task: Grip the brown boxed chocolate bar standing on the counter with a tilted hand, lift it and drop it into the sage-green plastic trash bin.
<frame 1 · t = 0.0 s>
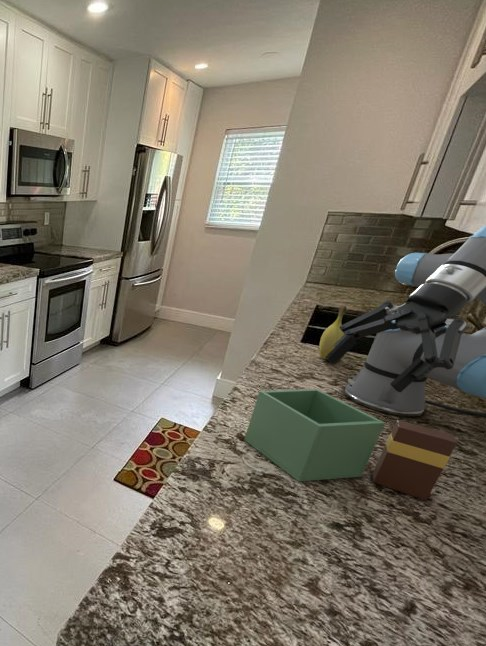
hand: (359, 373, 85), 15 cm above the countertop, tool tilted 35°, fingers open, 13 cm apart
banana: (328, 360, 136), on the countertop
trash bin: (298, 457, 83), on the countertop
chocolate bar: (398, 486, 75), on the countertop
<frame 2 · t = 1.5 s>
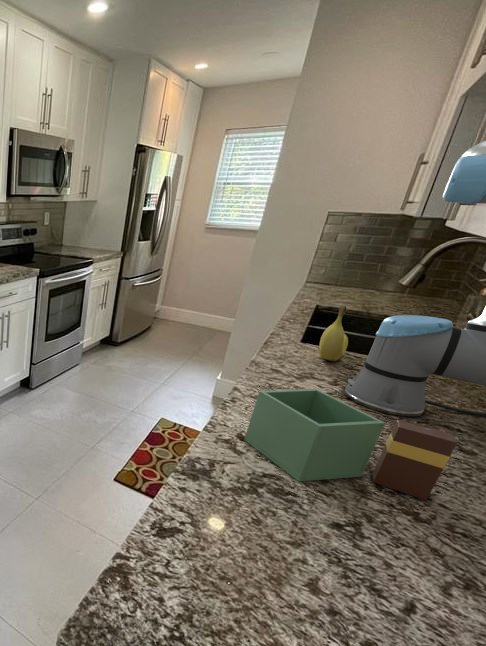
nothing on the countertop moved.
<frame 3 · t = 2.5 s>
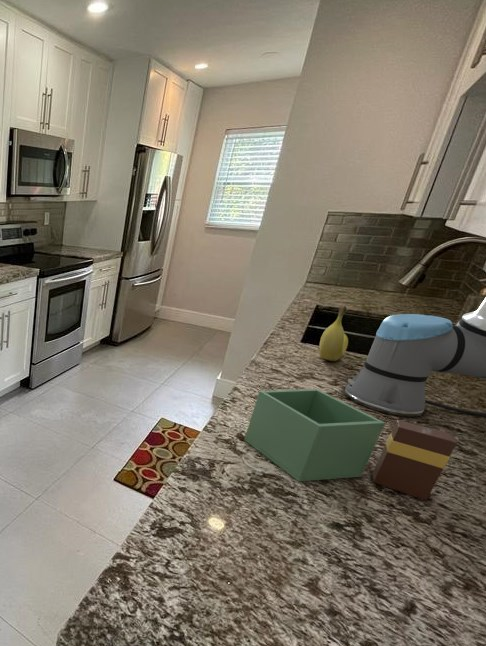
nothing on the countertop moved.
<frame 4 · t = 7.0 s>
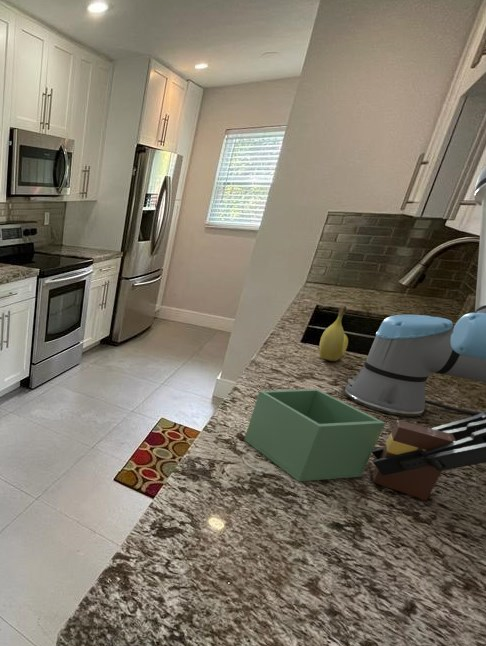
hand: (377, 462, 76), 3 cm above the countertop, tool tilted 45°, fingers closed on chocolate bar, 4 cm apart
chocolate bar: (398, 486, 75), on the countertop, touching gripper
everything else where it was.
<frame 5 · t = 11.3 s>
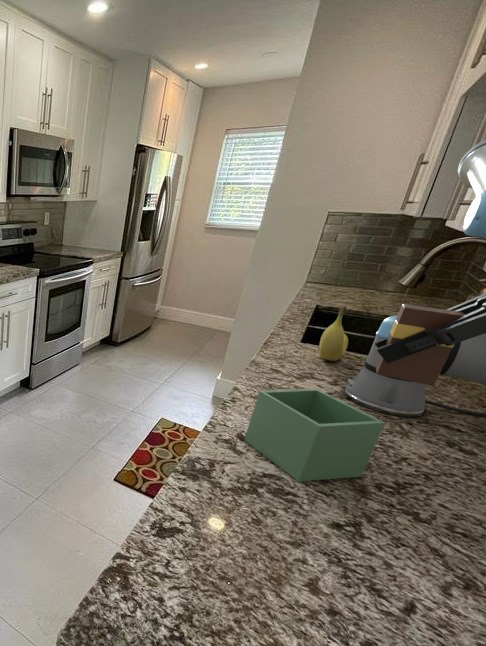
hand: (381, 352, 72), 24 cm above the countertop, tool tilted 45°, fingers closed on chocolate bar, 4 cm apart
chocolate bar: (403, 376, 71), point 21 cm above the countertop, touching gripper
everything else where it was.
when the fingers open (13 cm above the countertop, at t = 15.9 s): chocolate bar drops 9 cm, resting on trash bin.
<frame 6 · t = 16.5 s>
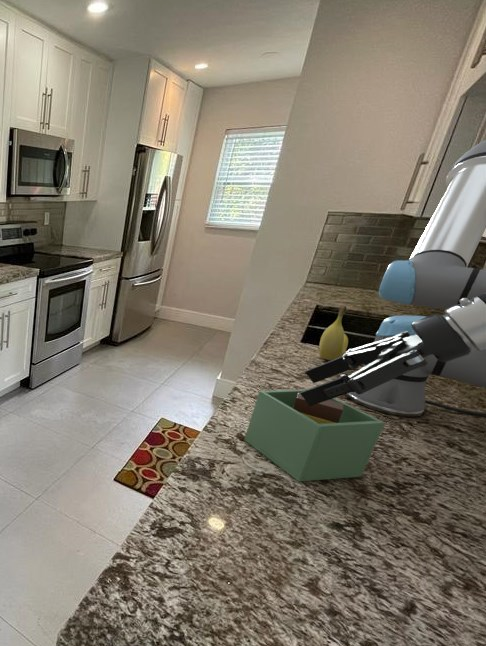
hand: (307, 387, 79), 15 cm above the countertop, tool tilted 45°, fingers open, 12 cm apart
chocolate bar: (300, 453, 82), point 1 cm above the countertop, touching trash bin
everything else where it was.
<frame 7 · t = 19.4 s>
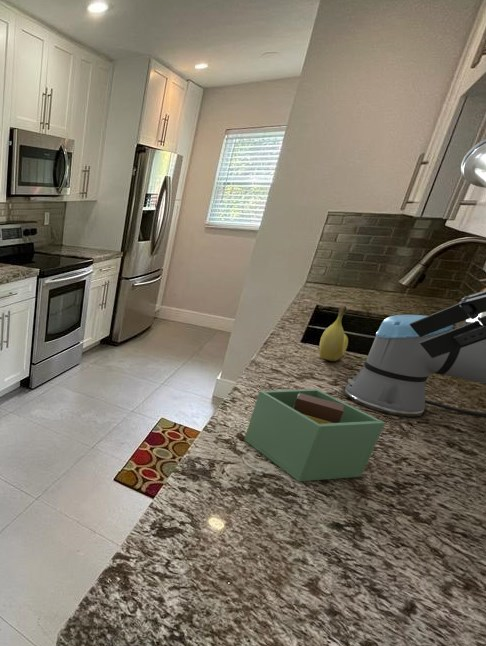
hand: (419, 339, 68), 28 cm above the countertop, tool tilted 45°, fingers open, 13 cm apart
nothing on the countertop moved.
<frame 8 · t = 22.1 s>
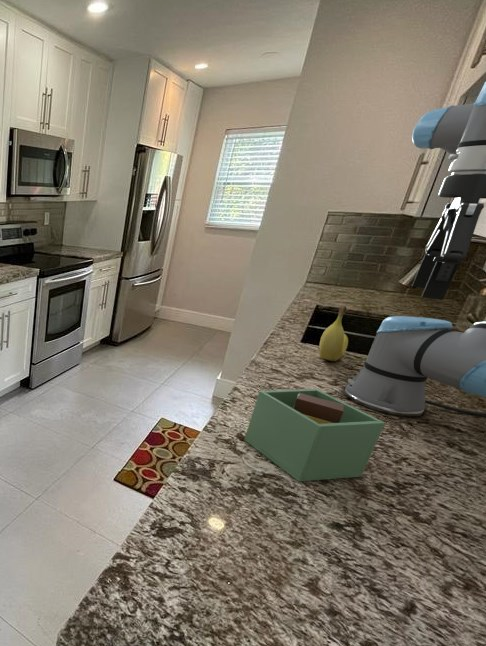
hand: (425, 292, 80), 33 cm above the countertop, tool pointing down, fingers open, 13 cm apart
nothing on the countertop moved.
at the end: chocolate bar inside the target area in the trash bin (0.1 cm from its centre), point 0.8 cm above the trash bin's base; the gripper is holding nothing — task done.
